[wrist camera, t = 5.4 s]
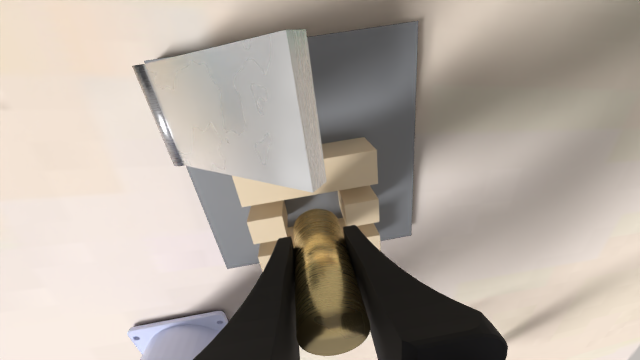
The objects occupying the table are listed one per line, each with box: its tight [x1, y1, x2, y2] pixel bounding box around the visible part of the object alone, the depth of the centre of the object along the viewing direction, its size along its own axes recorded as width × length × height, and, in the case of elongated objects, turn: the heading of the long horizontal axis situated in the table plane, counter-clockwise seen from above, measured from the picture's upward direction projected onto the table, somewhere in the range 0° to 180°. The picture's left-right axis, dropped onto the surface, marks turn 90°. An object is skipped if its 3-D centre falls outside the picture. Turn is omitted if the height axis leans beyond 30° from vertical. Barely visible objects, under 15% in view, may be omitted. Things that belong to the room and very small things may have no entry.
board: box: [144, 21, 418, 272], centre depth 15 cm, size 14×14×4 cm
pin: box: [294, 209, 370, 356], centre depth 11 cm, size 3×3×6 cm
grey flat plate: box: [132, 30, 327, 193], centre depth 9 cm, size 4×8×1 cm
